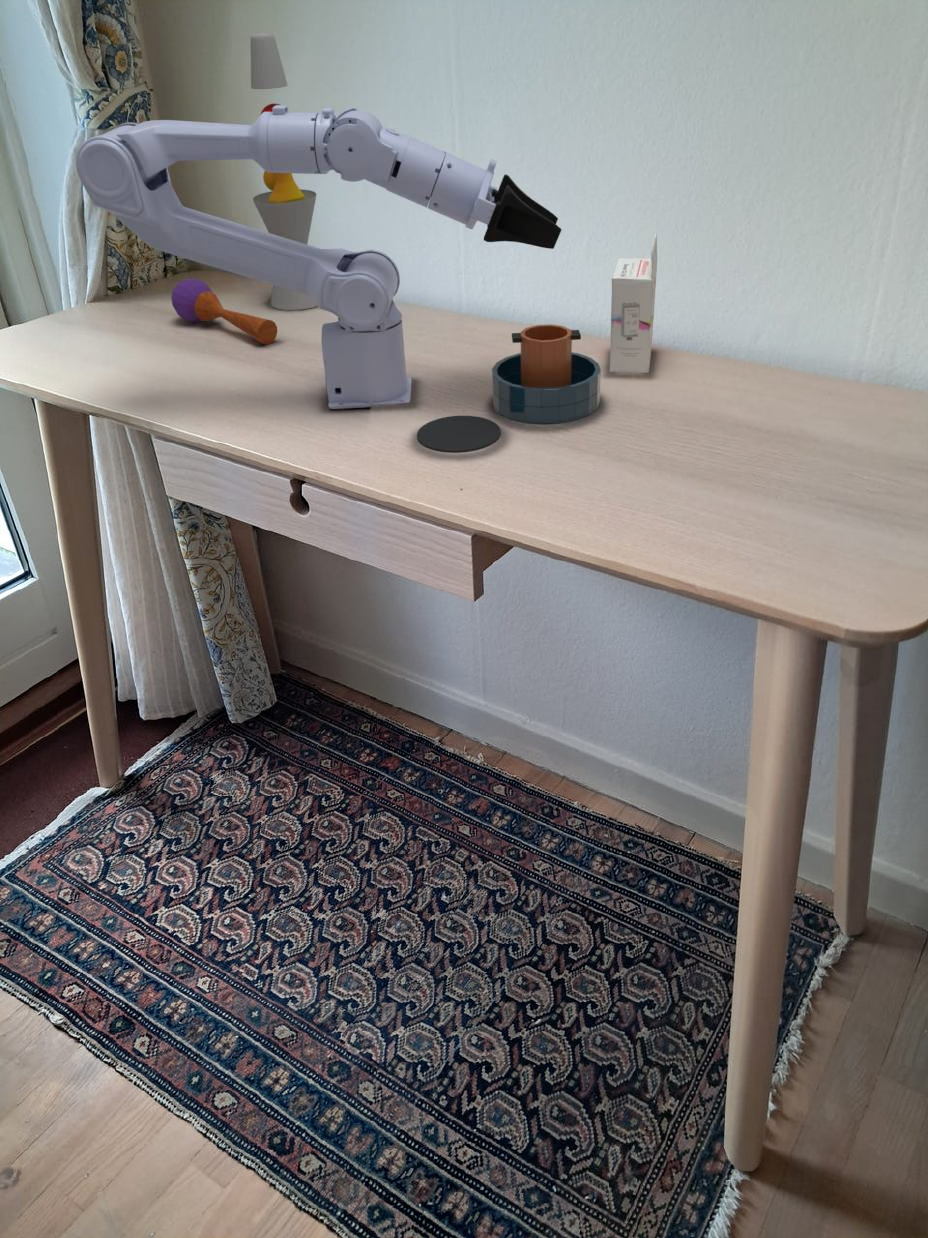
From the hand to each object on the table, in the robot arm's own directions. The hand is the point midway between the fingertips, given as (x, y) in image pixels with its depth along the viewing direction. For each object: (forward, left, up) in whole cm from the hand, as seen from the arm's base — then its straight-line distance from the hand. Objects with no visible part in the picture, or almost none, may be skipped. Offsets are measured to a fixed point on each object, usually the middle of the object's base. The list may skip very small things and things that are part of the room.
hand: (555, 232), depth 105 cm
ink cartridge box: (+10, +8, -18) cm, 22 cm away
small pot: (-1, -4, -17) cm, 18 cm away
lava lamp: (-35, +41, -18) cm, 57 cm away
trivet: (-11, -12, -18) cm, 24 cm away
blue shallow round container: (-1, -4, -18) cm, 18 cm away
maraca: (-44, +29, -18) cm, 56 cm away
